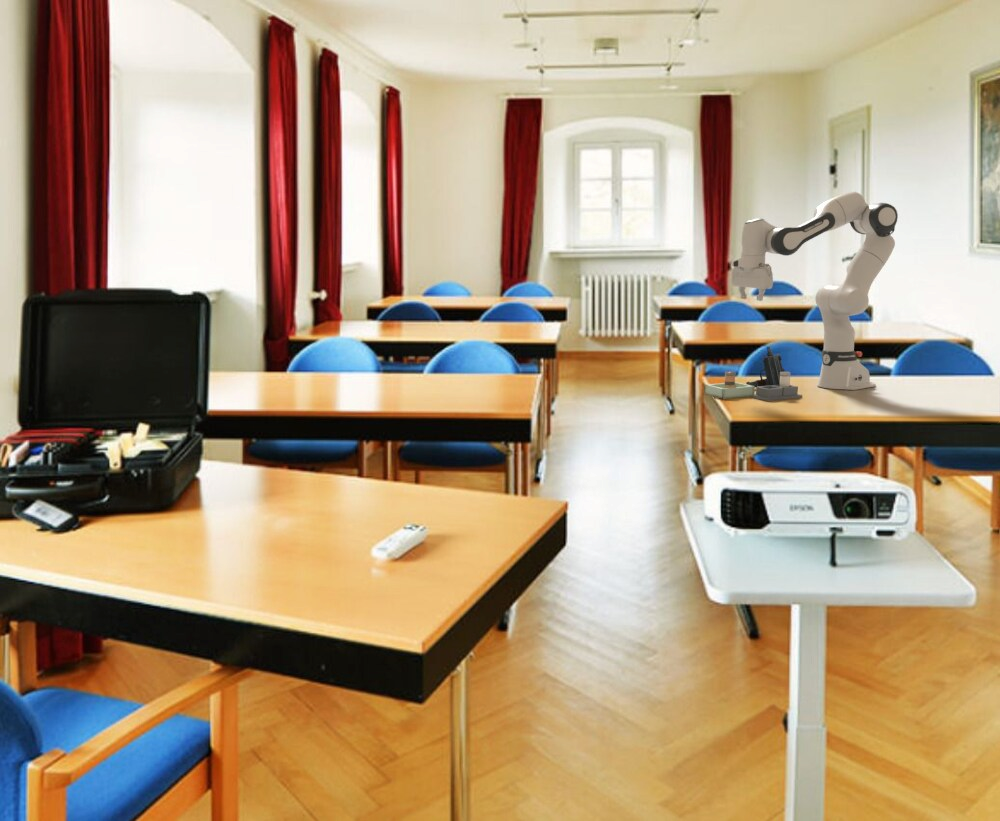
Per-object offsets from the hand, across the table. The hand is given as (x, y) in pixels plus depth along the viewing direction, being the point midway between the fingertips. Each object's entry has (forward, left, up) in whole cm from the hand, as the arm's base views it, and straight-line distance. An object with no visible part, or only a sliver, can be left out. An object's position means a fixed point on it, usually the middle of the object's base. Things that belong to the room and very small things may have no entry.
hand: (751, 299), depth 385 cm
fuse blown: (+15, +8, -34) cm, 38 cm away
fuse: (-1, +20, -33) cm, 39 cm away
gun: (-4, +6, -34) cm, 35 cm away
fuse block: (+3, +20, -34) cm, 40 cm away
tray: (+15, +8, -34) cm, 38 cm away
